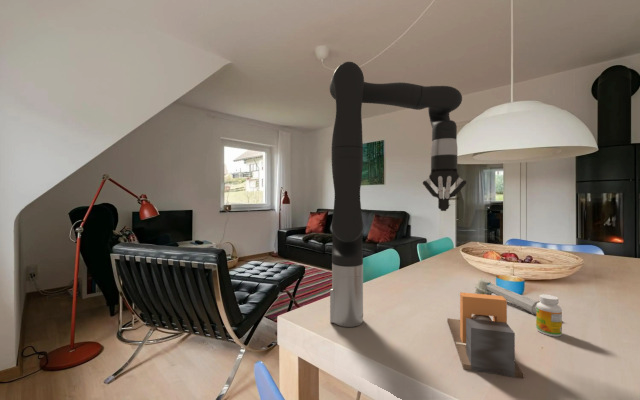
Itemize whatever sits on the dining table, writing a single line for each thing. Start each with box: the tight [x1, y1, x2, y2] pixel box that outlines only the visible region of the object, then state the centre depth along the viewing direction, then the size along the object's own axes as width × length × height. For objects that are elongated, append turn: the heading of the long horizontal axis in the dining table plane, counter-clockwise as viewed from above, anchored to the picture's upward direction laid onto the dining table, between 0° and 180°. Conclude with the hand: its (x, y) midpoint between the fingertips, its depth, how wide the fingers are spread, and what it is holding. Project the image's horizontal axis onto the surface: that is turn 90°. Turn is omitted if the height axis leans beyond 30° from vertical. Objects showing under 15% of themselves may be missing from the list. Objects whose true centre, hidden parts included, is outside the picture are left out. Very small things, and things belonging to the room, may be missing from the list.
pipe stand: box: [447, 314, 524, 379], centre depth 69 cm, size 11×24×9 cm, turn 163°
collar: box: [459, 291, 508, 343], centre depth 65 cm, size 9×3×11 cm, turn 73°
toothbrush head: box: [474, 278, 541, 316], centre depth 96 cm, size 5×7×25 cm
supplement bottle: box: [535, 293, 563, 338], centre depth 76 cm, size 5×5×10 cm
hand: (443, 210), depth 87 cm, fingers closed
